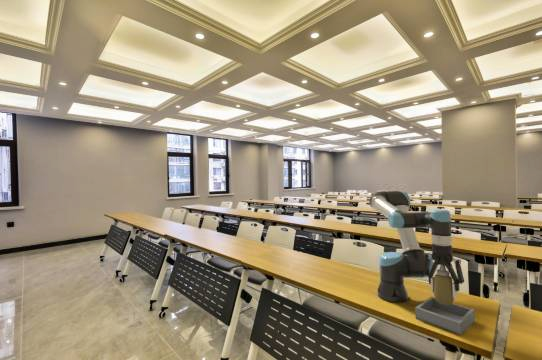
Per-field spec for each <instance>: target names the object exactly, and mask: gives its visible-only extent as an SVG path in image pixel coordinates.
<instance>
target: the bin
mask: <svg viewBox="0 0 542 360" xmlns="http://www.w3.org/2000/svg"><path fill="white" fill-rule="evenodd" d="M414 309H415V311H414V312H415V319H416V320H419V321H421V322H424V323H426V324H429V325H432V326H434V327H438V328H439V329H442V330H444V331H447V332H450V333H452V334H456V335H457V336H459V337H461V336H462V335H463V334H464V333H465V332H466V331H467V330H469V328H470V327H471V326H472V325H473V324H474V323H475V322H476V315H475V312H476V311H475V309H474V308H470V307H467V306H463V305H460V304H457V303H454V302H453V303H452V305H442V304H439V303H438V302H437V301H436V299H435V296H431V297H429V298H427V299H426V300H424V301H423V302H422V303H421V302H420V304H418V305H417V306H415V307H414Z"/></svg>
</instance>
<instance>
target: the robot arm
mask: <svg viewBox="0 0 542 360" xmlns="http://www.w3.org/2000/svg"><path fill="white" fill-rule="evenodd" d="M368 201H369V206H370V207H371V208H372V210H374V211H376V212H379V213H380V214H382V215H383V216H384V217H385V218H387V222H388V225H389V227H391V228H392V229H396V231H397V233H398V236H399V240H400V244H401V246H402V252H398V251H395V252H394V251H388V252H384V253H382V254H381V255H380V256H379V275H380V276H379V277H380V280H379V281H380V282H379V284H378V288H377V296H378V297H379V298H380V299H381V300H384V301H387V302H389V303H390V302H391V303H404V302H405V303H406V302H407V301H408V300H409V293H408V291H407V288H406V286H405V282H404V281H405V280H404V278H408V279H410V278H421V279H423V278H428V284H429V285H430V291H431V293H434V279H435V275H434V274H436V273H435V272H437V270H438V269H437V268H438V266H440V265H444V266H445V268H446V270H447V271H449V276H450V277H452V289H453V299H454V300H456V299H457V298H458V292H459V291H460V284H461V285H462V284H463V283H465V277H464V274H463V271H462V265H461V263H462V260H461V259H459V258H458V259H457V258H454V256H453V246H452V244H453V243H452V219H451V212H450V210H447V209H432V210H431V211H427V210H425V211H423V210H422V211H418V212H416V211H415V212H408V211H409V209H410V208H411V198H410V196H409V194H408V193H407V192H406V191H404V190H398V189H397V190H381V191H377V192H374V193H372V195H371V196H370V198H369V200H368ZM414 228H416V229H417V228H419V229H420V228H422V229H423V228H427V229H431V231H430V232H431V243H432V244H431V249H432V250H431V252H432V253H431V254H430V253H426V252H425V249H423V248H421V247H420V244H419V241H418V238H417V235H416V233H415V230H414ZM433 260H434V261H433ZM452 262H453V264H454V265H455V266H453V264H452ZM454 267H455V270H454ZM455 271H456V272H455Z"/></svg>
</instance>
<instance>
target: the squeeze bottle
mask: <svg viewBox="0 0 542 360" xmlns="http://www.w3.org/2000/svg"><path fill="white" fill-rule="evenodd" d="M439 266H440V267H439V269H436V273H435V275H434V277H435V279H434V292H433V297H434V298H435V299H436V301H437V302H438V303H439V304H442V305H452V303H454V300H455V299H453V289H452V283H453V279H452V277H451V275H450V273H449V271H448V269H447V268H446V266H444V265H439Z"/></svg>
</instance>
